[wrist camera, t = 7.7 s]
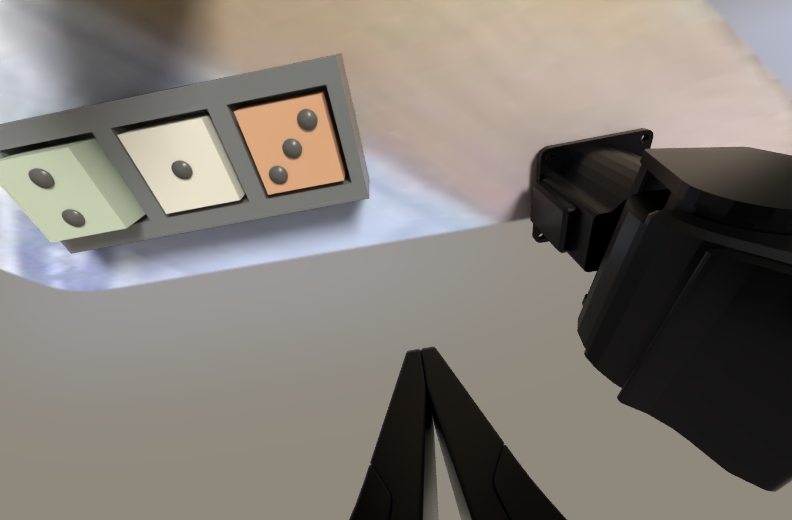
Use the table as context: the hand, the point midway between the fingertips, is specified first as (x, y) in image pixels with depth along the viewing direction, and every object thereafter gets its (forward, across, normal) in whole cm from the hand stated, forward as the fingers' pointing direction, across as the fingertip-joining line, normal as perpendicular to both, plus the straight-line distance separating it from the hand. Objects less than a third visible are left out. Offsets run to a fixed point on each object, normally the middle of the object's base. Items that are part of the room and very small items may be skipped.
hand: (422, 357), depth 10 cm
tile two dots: (+11, +16, -4) cm, 20 cm away
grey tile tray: (+13, +10, -4) cm, 17 cm away
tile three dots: (+12, +4, -4) cm, 14 cm away
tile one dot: (+12, +10, -4) cm, 16 cm away
